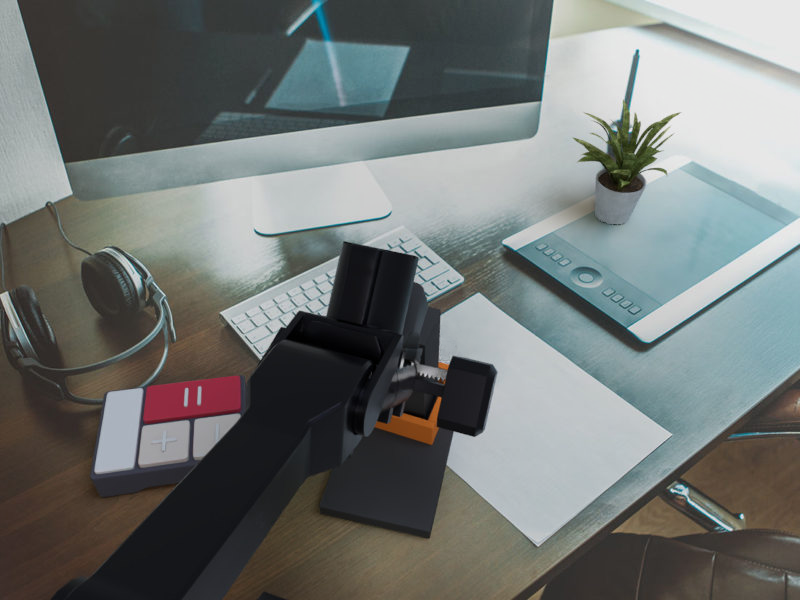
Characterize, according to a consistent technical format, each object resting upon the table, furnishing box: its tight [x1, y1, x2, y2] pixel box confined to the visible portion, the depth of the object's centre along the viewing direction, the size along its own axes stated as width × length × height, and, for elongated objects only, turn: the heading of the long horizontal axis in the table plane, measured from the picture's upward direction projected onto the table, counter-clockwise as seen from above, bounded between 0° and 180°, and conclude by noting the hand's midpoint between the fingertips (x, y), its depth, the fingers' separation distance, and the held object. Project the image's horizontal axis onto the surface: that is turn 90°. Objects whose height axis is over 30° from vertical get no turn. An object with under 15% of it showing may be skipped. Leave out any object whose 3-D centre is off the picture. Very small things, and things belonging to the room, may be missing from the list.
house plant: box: [572, 99, 682, 226], centre depth 93 cm, size 14×14×16 cm
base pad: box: [318, 361, 454, 539], centre depth 68 cm, size 19×11×4 cm, turn 166°
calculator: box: [89, 374, 247, 498], centre depth 69 cm, size 11×4×15 cm
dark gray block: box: [403, 306, 442, 420], centre depth 67 cm, size 5×4×13 cm
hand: (407, 370), depth 65 cm, fingers open, 9 cm apart
